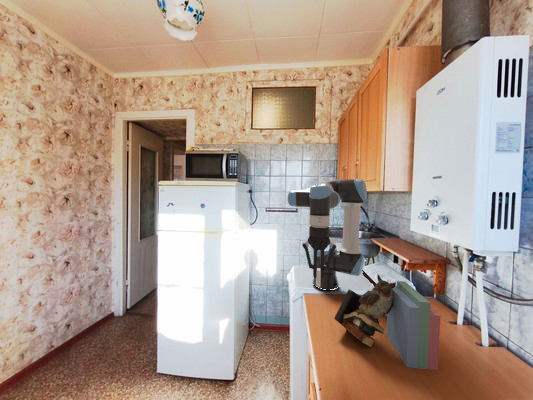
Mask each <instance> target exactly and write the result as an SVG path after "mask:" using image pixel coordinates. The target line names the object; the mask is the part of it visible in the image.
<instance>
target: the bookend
mask: <svg viewBox="0 0 533 400" xmlns="http://www.w3.org/2000/svg"><path fill="white" fill-rule="evenodd" d="M377 281H378V282H377V283H376V284H375V285H374V287H373V288H372V289H371V290H367V291H366V292H364V293H363V294H362V295H360V294H358V293H356V292H355V291H353V290H352V289H350V288H349V289H347V292H346V293H345V295H344V298H343V300H342V302H341V305H340V306H339V308H338V310H337V312H335V313H336V314H335V315H334V318H333V319H334V320H335V321H336V322H337V323H338V324H340V325H341V326H342V327H343V328H344V329H345V330H347V331H348V332H349V333H350V334H352V335H353V336H354V337H355V338H356V339H357V340H358V341H360V342H361V344H364V345H366V346H368V347H369V348H372V347H373V344H374V342H376V340H375V338H373V336H374V335H375V334H376V332H378V333H380V334H382V335H384V333H385V329H384V327H383V326H382V325H380V320H381V319H382V317H383V316H386V314H388V313H389V312H390V311H391V309H392V307H393V301H392V297H393V296H392V295H393V290H392V288H394V287H395V286H397V281H396V282H389V281H386V280H383V279H382V278H381V275H380V274H377Z"/></svg>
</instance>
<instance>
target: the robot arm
mask: <svg viewBox="0 0 533 400" xmlns="http://www.w3.org/2000/svg"><path fill="white" fill-rule="evenodd" d="M367 198H368V189H367V185H366V183H365V180H363V179H357V178H356V179H350V178H349V179H332V180H329V181H325V182H322V183H320V184H318V185H312V186H310V187H309V188H305V189H301V190H298V189H295V190H290V191H289V192H288V194H287V204H288V205H289V206H290V207H296V208H309V218H308V219H309V220H308V221H309V225H310V226H309V227H308V228H309V229H308V231H309V233H308V239H307V240H306V241H304V242H302V248H303V249H304V251H305V255H306V256H305V257H306V261H307V264H308V268H309V269H311V270H312V277H313V279H312V285H313V284H314V285H315V286H316V287H319V288H322V289H326V290H330V289H334V288H337V287H338V288H339V281H338V276H337V272H338V273H342V274H346V275H350V276H356V277H358V276H360V275H361V274H362V271H363V269H364V265H365V255H363V254H362V251H361V249H359V246H360V245H359V243H360V242H359V241H360V222H361V221H360V219H361V206H362V205H364V201H367ZM340 203H341V204H342V205H343V222H342V223H343V226H342V246H341V247H340V248H339V251H338V249H337V245H336V243H333V242H331V239H330V227H329V226H330V217H331V216H330V215H331V214H330V213H331V210H332V209H334V208H336V207H338V206H339V205H340ZM309 245H310V247H311V248H312V250H313V260H311V256H310V250H309ZM314 285H313V286H314ZM315 286H314V287H315ZM316 287H315V288H316Z"/></svg>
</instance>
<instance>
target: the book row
mask: <svg viewBox="0 0 533 400" xmlns="http://www.w3.org/2000/svg"><path fill="white" fill-rule="evenodd" d="M392 290H393V295H392V296H393V297H392V301H393V307H392V309H391V311H390V312H389V313H388V314H387V317H386V336H387V337H388V339H389V340H390V341H389V342H390V343H391V344H392V346H393V348H394V349H395V350H396V352H397V354H398V355H399V357H400V359H401V360H402V362H403V363H404V366H405V367H406V368H412V369H413V368H414V369H423V370H429V371H430V370H432V371H438V370H439V353H440V352H439V350H440V335H441V333H440V331H441V315H440V314H438V312H436V311H435V310H434V309H433V308H432V307H431V301H429V300H428V299H427V298H426V297H425V296H424V295H422V294H421V293H419V292H418V291H417V290H416V289H415V288H413V287H412V286H411V285H410V284H409V283H407V282H406V281H402V280H397V281H396V286H395V287H394V288H392Z"/></svg>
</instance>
